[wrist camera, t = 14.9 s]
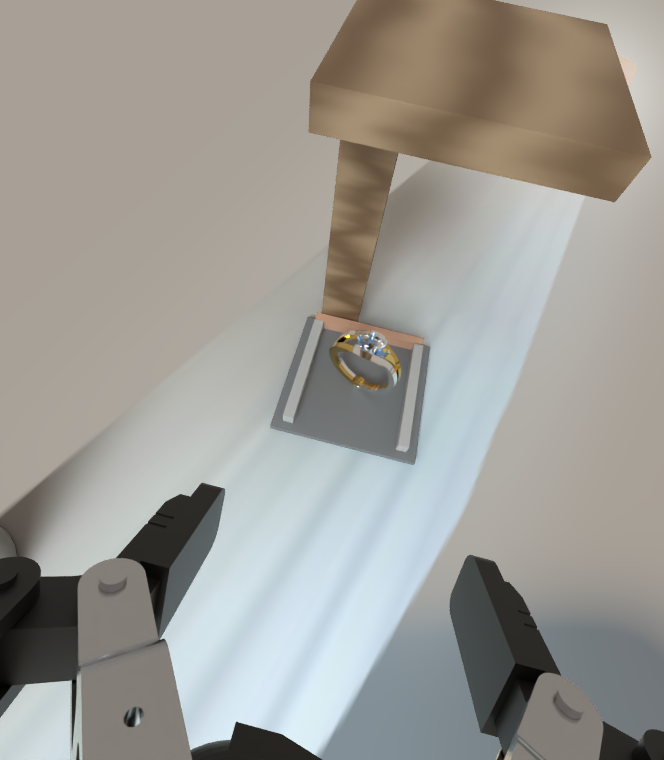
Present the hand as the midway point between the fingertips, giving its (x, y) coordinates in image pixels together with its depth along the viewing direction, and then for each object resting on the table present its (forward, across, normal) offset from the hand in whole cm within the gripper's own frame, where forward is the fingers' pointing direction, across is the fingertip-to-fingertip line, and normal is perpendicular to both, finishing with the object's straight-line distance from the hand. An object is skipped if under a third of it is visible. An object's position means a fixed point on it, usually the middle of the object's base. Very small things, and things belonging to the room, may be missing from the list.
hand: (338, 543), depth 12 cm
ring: (+28, -1, +2) cm, 28 cm away
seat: (+28, -1, +3) cm, 28 cm away
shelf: (+32, -2, -1) cm, 32 cm away
